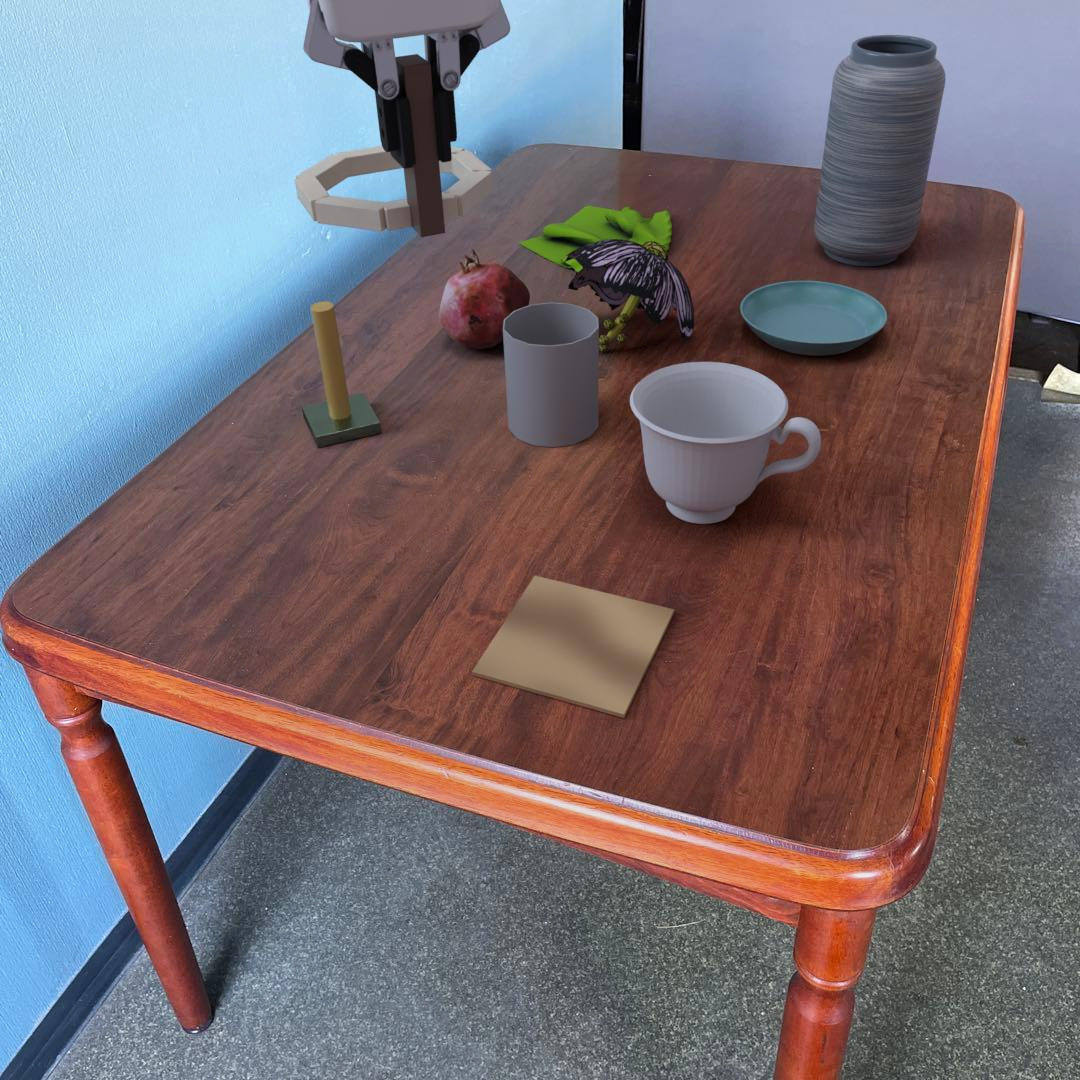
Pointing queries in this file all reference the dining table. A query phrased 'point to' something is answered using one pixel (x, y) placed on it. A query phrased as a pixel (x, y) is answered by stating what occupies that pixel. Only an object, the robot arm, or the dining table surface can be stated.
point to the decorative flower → (633, 284)
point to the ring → (422, 181)
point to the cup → (552, 373)
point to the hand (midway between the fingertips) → (420, 156)
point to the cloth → (598, 232)
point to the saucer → (812, 316)
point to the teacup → (713, 436)
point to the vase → (878, 148)
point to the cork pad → (576, 645)
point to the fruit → (480, 302)
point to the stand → (336, 389)
